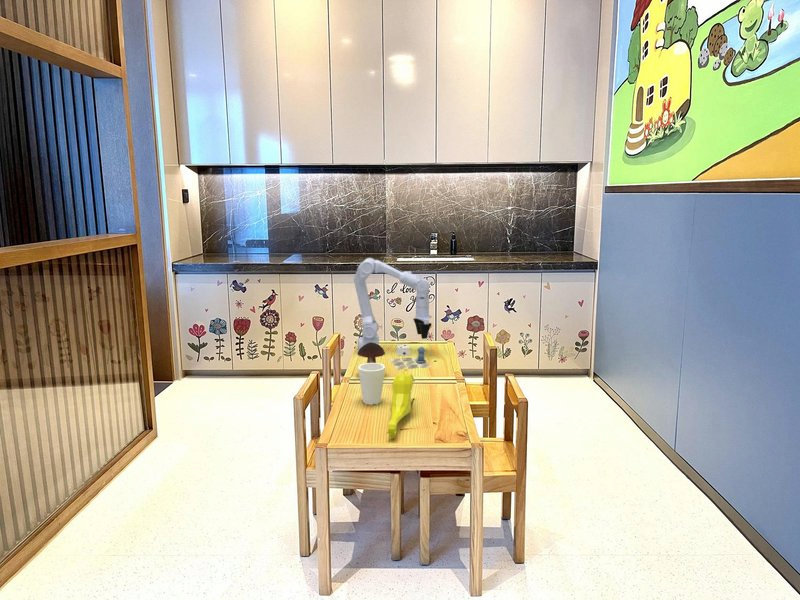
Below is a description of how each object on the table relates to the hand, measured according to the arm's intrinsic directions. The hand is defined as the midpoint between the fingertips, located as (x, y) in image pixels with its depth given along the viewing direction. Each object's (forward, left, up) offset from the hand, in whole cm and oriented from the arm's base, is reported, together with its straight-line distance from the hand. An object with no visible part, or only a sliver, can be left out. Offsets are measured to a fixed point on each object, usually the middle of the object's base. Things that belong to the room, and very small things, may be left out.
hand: (422, 336), depth 252 cm
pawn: (-3, -10, -9) cm, 14 cm away
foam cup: (-31, -47, -10) cm, 57 cm away
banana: (-24, -63, -10) cm, 68 cm away
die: (-8, +3, -10) cm, 13 cm away
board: (-8, -10, -10) cm, 16 cm away
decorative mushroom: (-27, -23, -10) cm, 37 cm away
